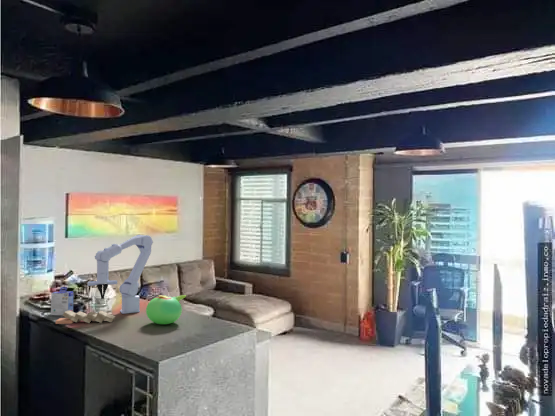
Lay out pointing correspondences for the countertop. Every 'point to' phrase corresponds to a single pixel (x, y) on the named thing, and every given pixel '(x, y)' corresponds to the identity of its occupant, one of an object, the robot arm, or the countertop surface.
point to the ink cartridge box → (61, 302)
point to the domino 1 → (64, 321)
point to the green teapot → (164, 309)
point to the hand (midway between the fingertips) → (102, 298)
